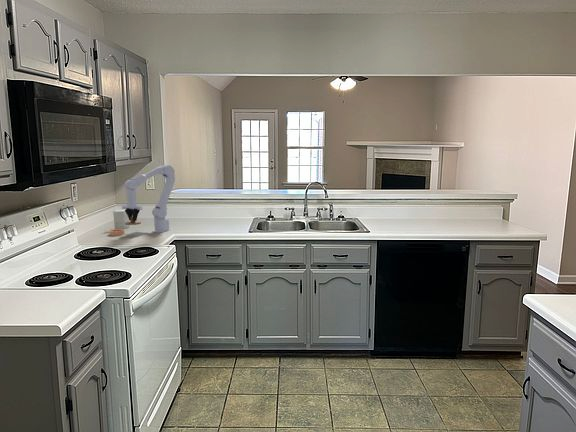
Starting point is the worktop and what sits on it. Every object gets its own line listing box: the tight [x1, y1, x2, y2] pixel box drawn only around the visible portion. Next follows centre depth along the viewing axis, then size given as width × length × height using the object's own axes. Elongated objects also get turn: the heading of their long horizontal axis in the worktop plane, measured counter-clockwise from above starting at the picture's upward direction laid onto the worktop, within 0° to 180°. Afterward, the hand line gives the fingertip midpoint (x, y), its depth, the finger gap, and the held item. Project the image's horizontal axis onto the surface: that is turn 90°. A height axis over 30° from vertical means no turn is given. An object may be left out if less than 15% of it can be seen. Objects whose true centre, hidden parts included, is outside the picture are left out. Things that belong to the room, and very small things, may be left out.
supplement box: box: [112, 209, 130, 230], centre depth 305 cm, size 7×7×13 cm
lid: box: [125, 217, 142, 226], centre depth 282 cm, size 10×10×4 cm
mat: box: [125, 231, 150, 238], centre depth 284 cm, size 11×11×1 cm
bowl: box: [108, 228, 126, 237], centre depth 284 cm, size 9×9×3 cm
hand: (132, 220), depth 282 cm, fingers closed on lid, 3 cm apart
